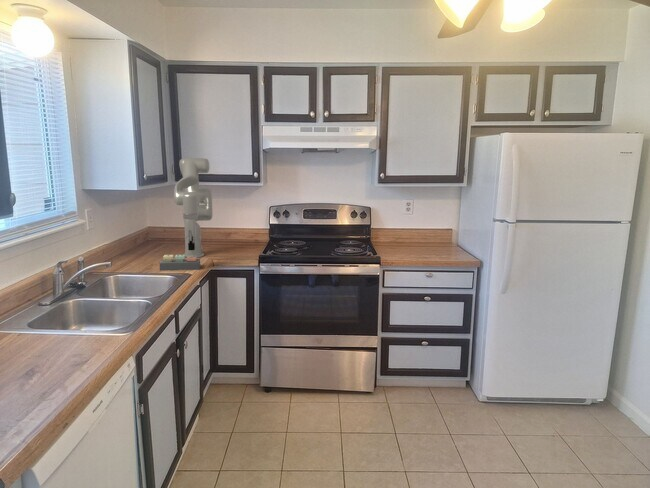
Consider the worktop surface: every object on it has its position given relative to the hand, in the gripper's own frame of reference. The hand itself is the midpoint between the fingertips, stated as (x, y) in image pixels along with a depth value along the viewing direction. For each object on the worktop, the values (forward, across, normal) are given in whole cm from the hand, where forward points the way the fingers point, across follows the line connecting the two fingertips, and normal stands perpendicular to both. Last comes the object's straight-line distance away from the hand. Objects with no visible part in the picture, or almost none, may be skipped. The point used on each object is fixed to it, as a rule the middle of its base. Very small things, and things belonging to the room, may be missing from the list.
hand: (191, 249), depth 231 cm
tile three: (+9, +1, 0) cm, 9 cm away
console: (+10, +1, -6) cm, 12 cm away
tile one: (+8, +1, -12) cm, 14 cm away
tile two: (+8, +1, -6) cm, 10 cm away
